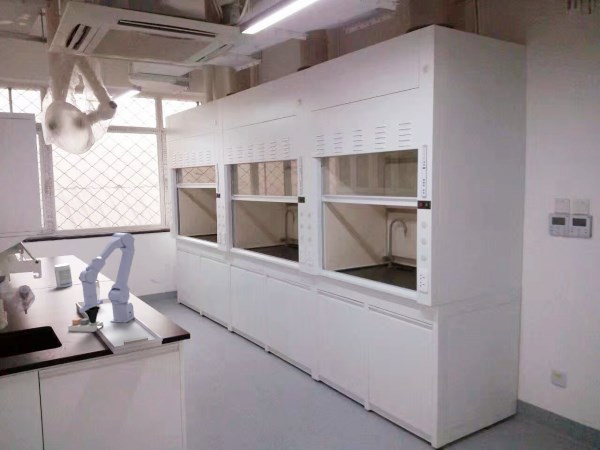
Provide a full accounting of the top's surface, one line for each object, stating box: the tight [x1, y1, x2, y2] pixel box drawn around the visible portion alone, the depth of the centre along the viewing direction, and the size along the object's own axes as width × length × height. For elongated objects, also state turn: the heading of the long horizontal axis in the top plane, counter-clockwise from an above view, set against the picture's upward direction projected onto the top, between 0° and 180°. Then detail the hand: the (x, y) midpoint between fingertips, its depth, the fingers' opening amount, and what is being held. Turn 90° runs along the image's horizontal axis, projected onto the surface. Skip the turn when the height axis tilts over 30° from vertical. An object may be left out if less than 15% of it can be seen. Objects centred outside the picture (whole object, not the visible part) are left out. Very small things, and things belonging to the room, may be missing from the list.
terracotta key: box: [71, 317, 83, 325], centre depth 230 cm, size 3×3×2 cm
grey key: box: [80, 317, 90, 325], centre depth 229 cm, size 3×3×2 cm
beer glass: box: [95, 279, 102, 308], centre depth 266 cm, size 7×7×15 cm
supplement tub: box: [53, 263, 73, 289], centre depth 323 cm, size 10×10×15 cm
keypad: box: [67, 321, 104, 333], centre depth 229 cm, size 14×7×3 cm, turn 77°
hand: (93, 322), depth 228 cm, fingers closed, pressing on sage key
